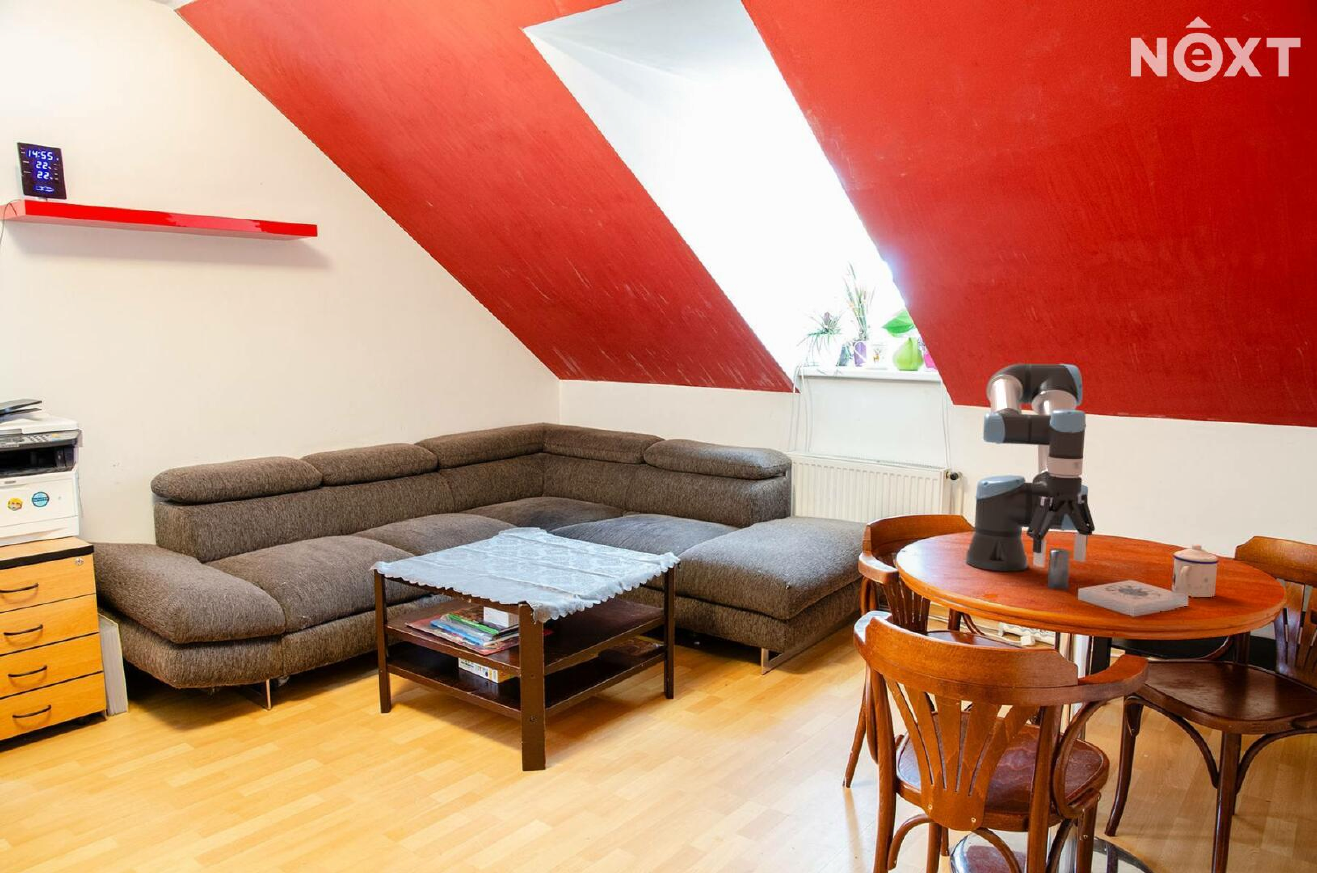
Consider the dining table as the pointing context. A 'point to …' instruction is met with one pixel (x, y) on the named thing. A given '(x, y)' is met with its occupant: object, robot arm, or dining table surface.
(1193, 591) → the teacup with lid
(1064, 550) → the grey upright prism
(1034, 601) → the dining table surface
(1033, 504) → the robot arm
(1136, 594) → the tile
